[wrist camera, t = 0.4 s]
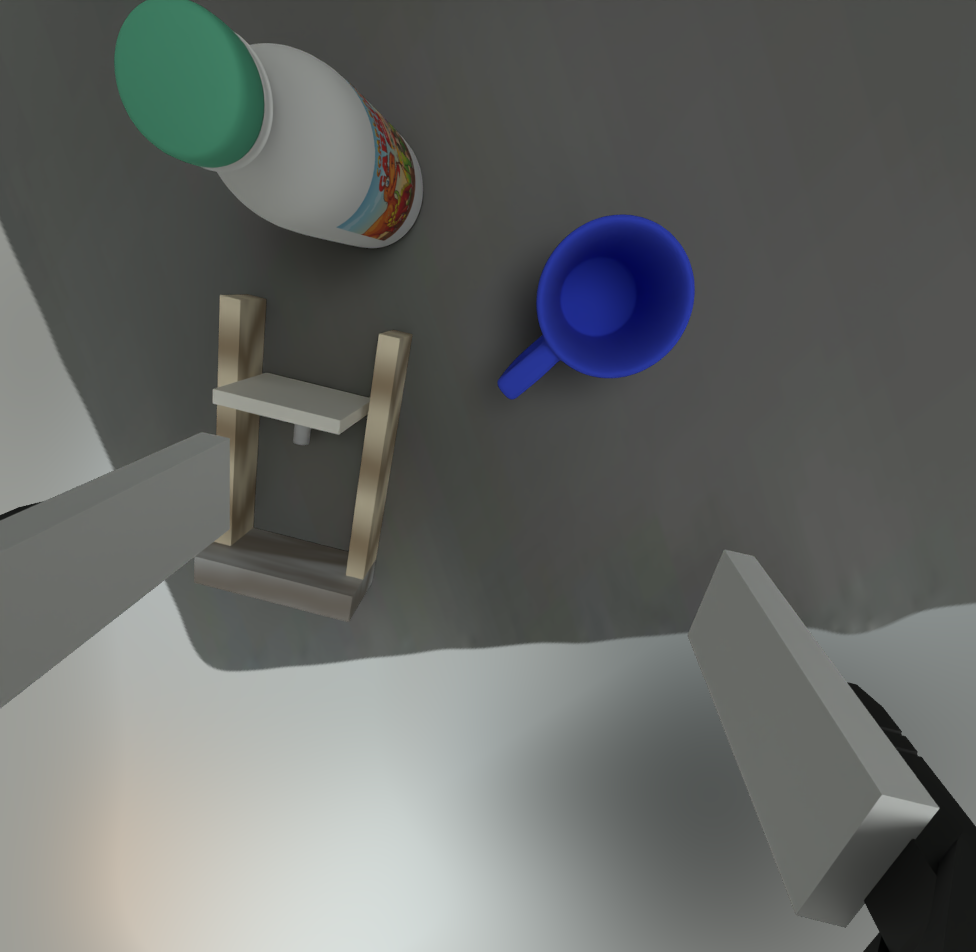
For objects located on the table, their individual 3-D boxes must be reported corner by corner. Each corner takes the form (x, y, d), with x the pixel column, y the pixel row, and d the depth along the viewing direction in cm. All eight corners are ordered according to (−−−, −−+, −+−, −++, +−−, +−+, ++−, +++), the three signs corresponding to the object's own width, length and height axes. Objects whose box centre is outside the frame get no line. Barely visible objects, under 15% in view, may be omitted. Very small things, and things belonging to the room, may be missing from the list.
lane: (247, 294, 39) (196, 295, 33) (412, 334, 38) (389, 342, 33) (236, 547, 47) (194, 582, 41) (372, 581, 47) (348, 622, 41)
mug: (476, 328, 38) (453, 341, 28) (609, 205, 34) (632, 175, 25) (546, 411, 39) (546, 449, 30) (680, 302, 36) (727, 308, 26)
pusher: (266, 372, 40) (212, 388, 34) (374, 398, 40) (340, 420, 34) (264, 420, 42) (211, 444, 35) (367, 445, 42) (333, 475, 35)
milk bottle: (366, 272, 37) (186, 257, 19) (295, 177, 36) (18, 56, 17) (447, 199, 35) (335, 100, 16) (375, 94, 33) (159, -149, 15)
